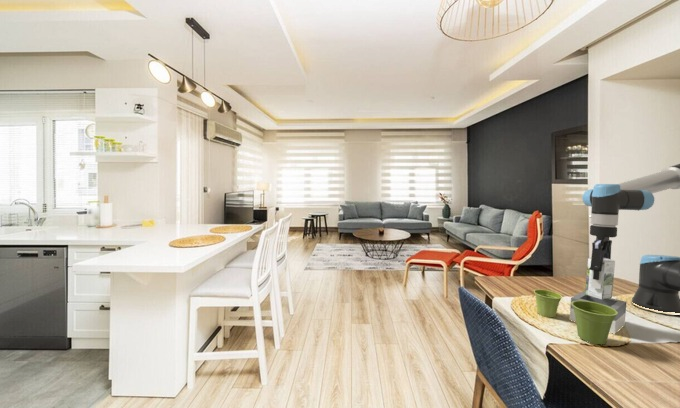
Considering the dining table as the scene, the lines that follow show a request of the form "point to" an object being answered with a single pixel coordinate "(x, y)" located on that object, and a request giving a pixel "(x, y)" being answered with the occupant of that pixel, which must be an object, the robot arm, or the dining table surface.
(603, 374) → the dining table surface
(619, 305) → the socket block
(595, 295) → the syrup box
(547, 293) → the plant pot
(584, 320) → the plant pot
